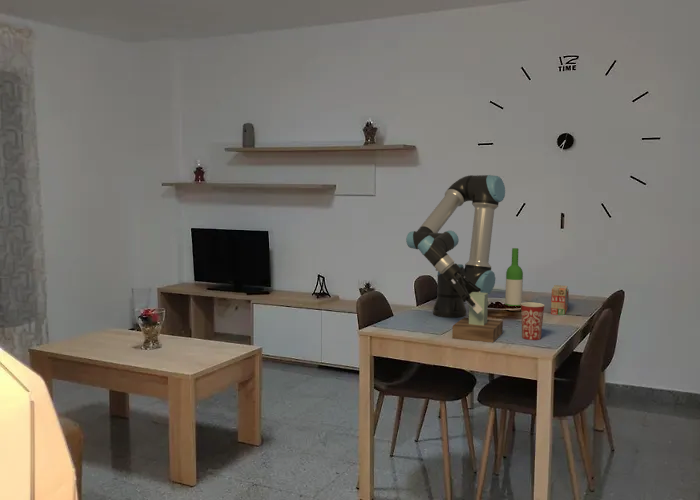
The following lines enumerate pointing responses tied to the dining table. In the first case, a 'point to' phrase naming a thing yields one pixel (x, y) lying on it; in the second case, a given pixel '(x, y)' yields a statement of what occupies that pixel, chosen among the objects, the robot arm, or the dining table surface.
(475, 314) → the green block
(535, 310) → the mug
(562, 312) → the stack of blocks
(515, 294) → the wine bottle
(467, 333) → the walnut riser
